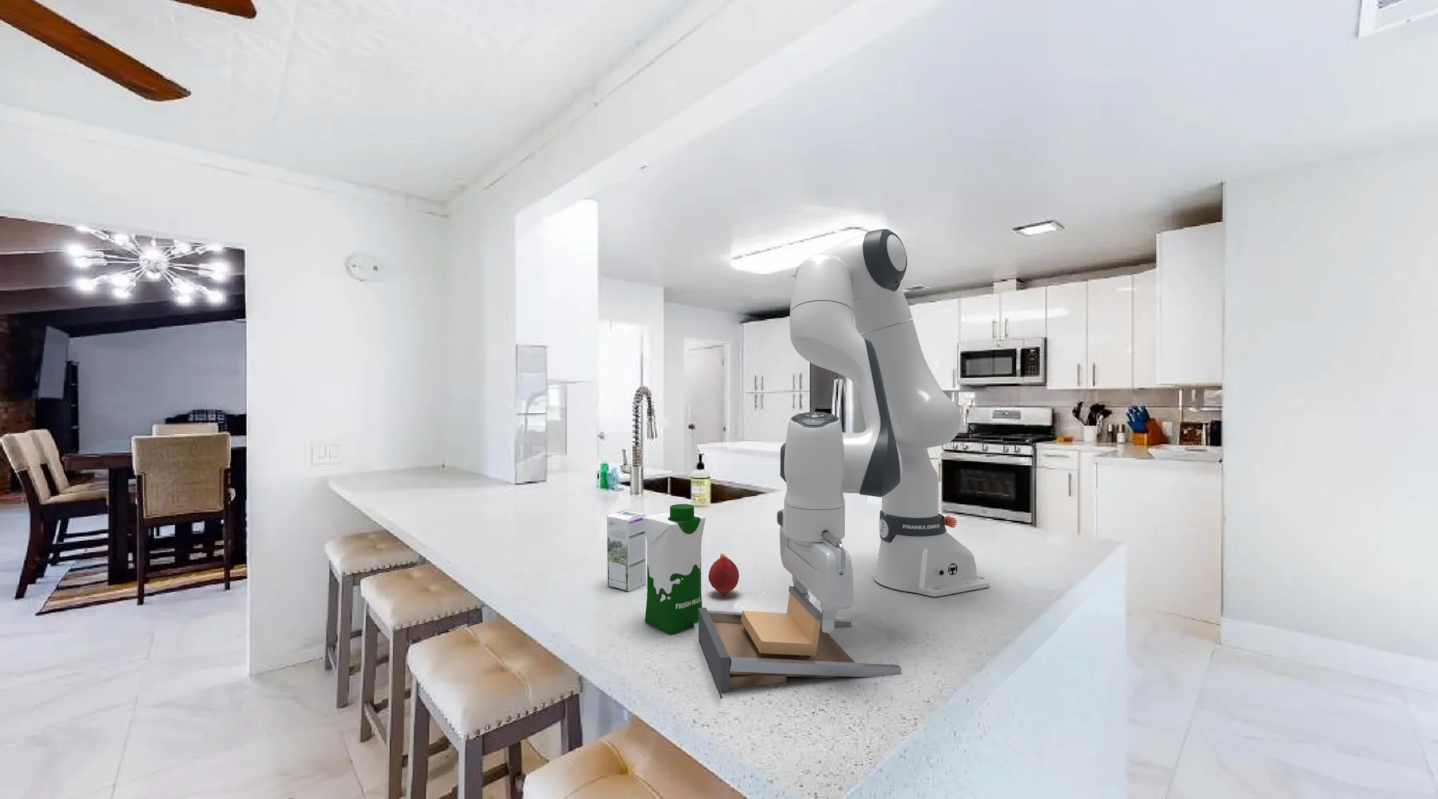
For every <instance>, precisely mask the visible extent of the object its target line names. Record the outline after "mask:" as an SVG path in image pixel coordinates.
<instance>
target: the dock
mask: <svg viewBox="0 0 1438 799" xmlns="http://www.w3.org/2000/svg"><path fill="white" fill-rule="evenodd" d="M741 616H742V611H741V612H738V611H736V612H735V611H725V610H724V611H720V610H708V608H707V607H702V608H698V621H697V622H698V643H699V646H700V649H701V651H702V654H703V656H704V660H705V661H706V662H705V663H706V664H707V667H708V670H709V672H710V674H711V677H712V680H713V682H714V685H715V689H716V690H717V692H718V695H719V698H720V699H723V695H722V694H726V693H730V692H731V689H733V688H734V689H735V688H744V687H751V686H752V687H753V686H762V685H773V684H781V683H787V677H793V678H794V677H797V678H798V677H799V678H818V679H819V678H821V679H827V678H837V677H853V678H855V677H856V678H857V677H858V678H859V677H860V678H873V677H874V678H875V677H882V676H883V677H884V676H891V675H892V676H893V675H901V674H902V667H901V666H900V665H899V664H890V663H889V664H887V663H884V664H883V663H871V662H870V663H866V662H865V663H864V662H855V660H853V659H852V658H851V656H850V655H849V654H848V653H847V652H846V651H845V650H844V649H843V648H842V647H841V645H839V643H838V642H837V641H836V640H835V639H834V638H833V637H832V636H831V635H830V633H829V632H828V633H824V632H823V631H822V630H821V629H820V630H819V637H818V645H817V652H816V656H811V657H810V658H808V659H807V658H805V657H804V656H803V655H788V654H767V655H766V656H761V655H760V654H759V650H758V648H757V647H756V645H755V643H754V642H753V640H752V638H751V637H750V635H749V634H748V632H747V630H745V629H744V625H743V624H742V622H741ZM846 627H852V621H851V620H850V619H847V618H846V619H845V618H835V619H834V629H836V628H846Z"/></svg>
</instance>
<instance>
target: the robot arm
mask: <svg viewBox="0 0 1438 799" xmlns="http://www.w3.org/2000/svg"><path fill="white" fill-rule="evenodd" d="M907 266H908V256H907V252H906V247H905V245H904V243H903V241H902V239H901V238H900V236H898V235H897V234H896V233H895V232H893V231H892V230H890V229H889V228H879V229H873V230H870V231H868V232H866V233H865V234H862V235H858V236H853V237H852V238H849V239H846V240H843V241H841V242H838V243H836V245H834V246H832V247H829V248H827V249H825V250H824V251H822V252H820V253H818V254H815V255H812V256H809V257H807V258H806V259H804V260H803V261H802V262H801V263H800V265H799V266H798V267H797V269H796V272H795V275H794V282H793V285H792V286H793V287H792V292H791V298H790V308H789V335H790V342H791V345H792V346H793V349H794V350H795V351H796V352H797V353H798V355H799V356H801V357H802V358H803V359H804V360H806V361H807V362H809V363H811V364H812V365H815V366H817V367H819V368H822V369H825V370H828V371H831V372H833V373H837V374H839V375H841V376H843V377H845V378H847V379H848V380H850V381H851V382H853V384H854V385H855V386H856V388H857V389H858V392H859V397H860V401H861V402H860V403H861V408H862V414H863V418H864V424H865V430H864V431H861V432H843V427H842V422H841V419H840V417H838V416H837V415H835V414H832V413H827V412H822V411H807V412H800V413H797V414H795V415H793V416H791V417H790V419H789V420H788V425H787V430H786V439H785V442H784V443H783V444H782V445H781V447H780V449H779V450H780V451H779V452H780V453H779V456H780V458H779V459H780V460H779V462H780V464H779V468H780V470H779V471H780V472H779V476H780V478H781V479H782V480H783V481H784V482H785V483H786V492H785V495H784V499H783V508H781V509H778V510H777V511H776V523H777V525H778V526H780V527H779V550H780V559H781V563H782V566H783V568H785V570H787V572H789V573H790V574H791V578H792V579H791V580H792V583H793V585H792V586H794V587H795V588H797V589H798V590H799V591H800V592H801V593H802V594H803V595H804V596H805V597H806V598H807V599H808V600H809V601H810V594H809V593H811V595H812V596H813V597H814V598H816V600H818V601H819V602H820V604H819V605H820V608H821V611H820V612H821V614H822V620H821V623H820V629H821V630H822V631H823V632H824V633H828V634H829V633H833V632H834V630H835V628H834V619H836V617H837V614H838V612H839V610H848V609H850V608H851V607H852V606H853V603H854V600H855V593H854V591H855V590H854V576H853V575H854V574H853V564H852V558H851V556H850V552H849V551H848V550H847V549H846V548H844V547H843V541H842V540H843V539H844V538H845V535H846V531H845V530H846V528H845V527H846V525H845V524H846V502H845V501H846V500H845V497H844V494H858V495H860V496H869V497H876V498H881V510H880V511H879V521H878V522H879V526H878V528H879V530H878V531H879V538H880V542H879V552H878V558H877V561H876V565H875V566H876V567H875V570H874V573H873V576H872V577H873V578H872V579H873V580H874V581H875V582H877V583H878V584H880V585H881V586H884V587H887V588H890V589H892V590H893V589H894V590H897V591H902V592H909V593H916V594H920V595H924V596H929V597H933V598H934V597H935V598H936V597H942V596H947V595H952V594H953V595H954V594H959V593H964V592H969V591H973V590H981V589H985V588H986V589H987V588H989V587H990V581H989V579H988V578H987V577H986V576H984V575H983V574H981V573H980V572H978V571H977V564H976V560H975V556H974V554H973V553H972V551H971V550H970V549H969V548H967V546H965V545H963V544H962V543H961V542H960V541H959V540H957V539H956V538H955V537H954V536H952V535H951V534H950V533H948V532H947V531H948V529H947V528H946V527H949V528H951V529H953V528H955V527H956V526H957V525H958V520H957V519H956V518H955V517H951V516H949V515H948V516H944V515H943V514H941V513H940V512H939V488H940V486H939V475H938V472H937V470H936V468H935V467H934V466H933V464H932V461H931V458H930V455H929V450H928V448H935V447H940V446H944V445H946V444H949V443H950V442H951V441H953V440H954V439H955V438H956V437H957V435H958V433H959V432H960V428H961V425H962V416H961V412H960V410H959V407H958V406H957V404H956V403H955V402H954V401H953V400H952V399H950V397H949V396H947V395H946V393H945V391H943V389H942V388H941V385H940V384H939V383H938V381H937V380H936V377H935V376H934V374H933V372H932V370H931V369H930V367H929V365H928V363H927V361H926V359H925V355H924V353H923V350H922V347H921V344H920V340H919V337H918V334H917V329H916V326H915V323H914V319H913V315H912V312H911V309H910V307H909V306H910V305H909V303H908V301H907V298H906V295H905V293H904V291H903V289H902V287H901V282H902V280H903V279H904V277H905V274H906V271H907ZM808 591H809V593H808Z"/></svg>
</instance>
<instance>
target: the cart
mask: <svg viewBox="0 0 1438 799" xmlns="http://www.w3.org/2000/svg"><path fill="white" fill-rule="evenodd" d="M788 592H789V594H788V601H787V609H786V612H785V613H784V612H773V611H772V612H771V611H758V610H757V611H755V610H742V611H741V613H742V616H741V622H742V624H743V625H744V629H745V630H747V632H748V634H749V635H750V637H751V638H752V640H753V642H754V643H755V645H756V647H757V648H758V650H759V654H760V655H761V656H766V655H767V654H788V655H803V656H804V657H805V658H807V659H808V658H810V657H811V656H816V652H817V645H818V637H819V630H820V623H821V620H822V614H821V612H822V611H820V610H819V608H817V607H816V606H815V605H814V604H813V603H812V602H811V601H810V599H809V600H808V599H807V598H806V597H805V596H804V595H803V594H802V593H801V592H800V591H799V590H798V589H797V588H795V587H794V585H789V588H788Z"/></svg>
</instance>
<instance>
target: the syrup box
mask: <svg viewBox="0 0 1438 799" xmlns="http://www.w3.org/2000/svg"><path fill="white" fill-rule="evenodd" d="M642 517H646V514H645V513H641V512H635V511H628V510H622V511H621V510H620V511H617V512H614V513H611V514H609V515H606V544H607V545H606V546H607V548H606V550H607V552H606V554H607V560H606V561H607V562H606V563H607V566H606V567H607V569H606V570H607V587H608V588H613V589H616V590H621V591H625V592H631V591H634V590H637V589H639V588H640V587H643V586H645V585H647V540H646V534H645V529H644V524H643V519H642Z"/></svg>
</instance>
